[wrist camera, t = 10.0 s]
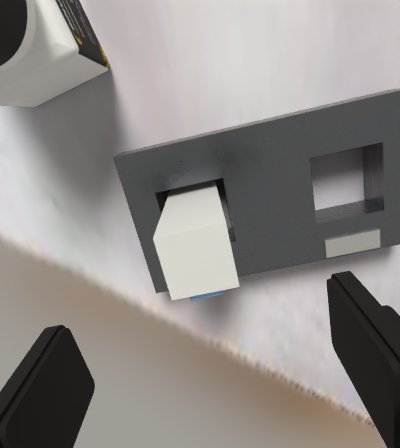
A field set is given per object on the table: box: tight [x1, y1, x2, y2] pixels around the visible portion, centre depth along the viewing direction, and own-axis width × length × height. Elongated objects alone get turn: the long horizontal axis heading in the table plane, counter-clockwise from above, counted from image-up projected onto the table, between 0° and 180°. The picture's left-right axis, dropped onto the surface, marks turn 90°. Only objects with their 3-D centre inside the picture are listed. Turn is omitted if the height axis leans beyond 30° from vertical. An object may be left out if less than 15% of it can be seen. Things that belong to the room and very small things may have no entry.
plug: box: [153, 180, 240, 301], centre depth 22 cm, size 4×5×11 cm
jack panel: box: [113, 89, 400, 293], centre depth 25 cm, size 22×12×3 cm, turn 103°
